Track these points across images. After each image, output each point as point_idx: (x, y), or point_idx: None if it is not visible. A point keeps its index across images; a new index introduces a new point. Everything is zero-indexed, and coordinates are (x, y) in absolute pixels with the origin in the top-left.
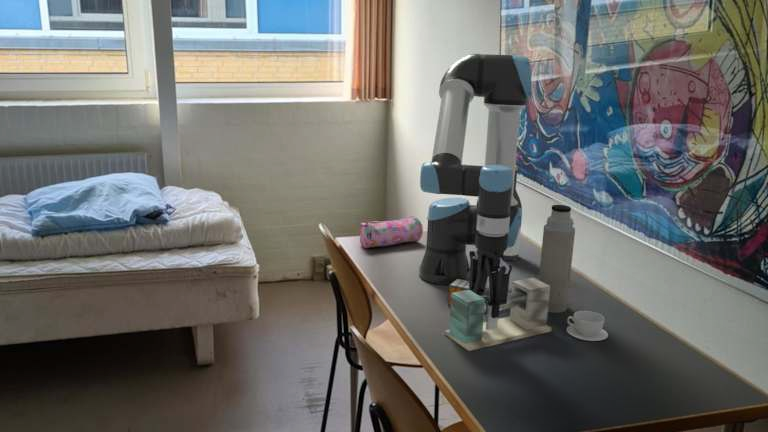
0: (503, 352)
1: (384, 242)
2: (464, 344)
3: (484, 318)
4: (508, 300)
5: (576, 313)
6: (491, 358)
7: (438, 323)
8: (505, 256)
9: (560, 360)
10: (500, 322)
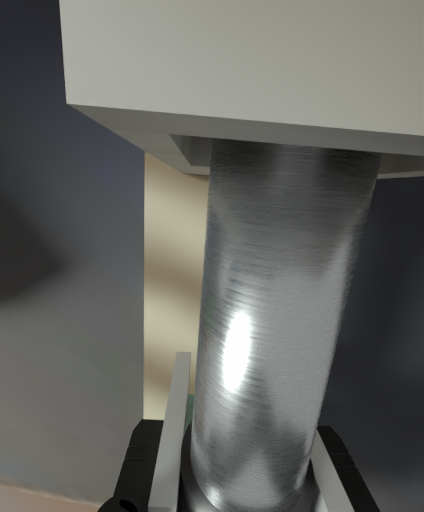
0: (354, 366)
1: None
2: None
3: (190, 361)
4: (328, 376)
5: None
6: (357, 418)
7: (59, 407)
8: None
9: None
10: (182, 233)
